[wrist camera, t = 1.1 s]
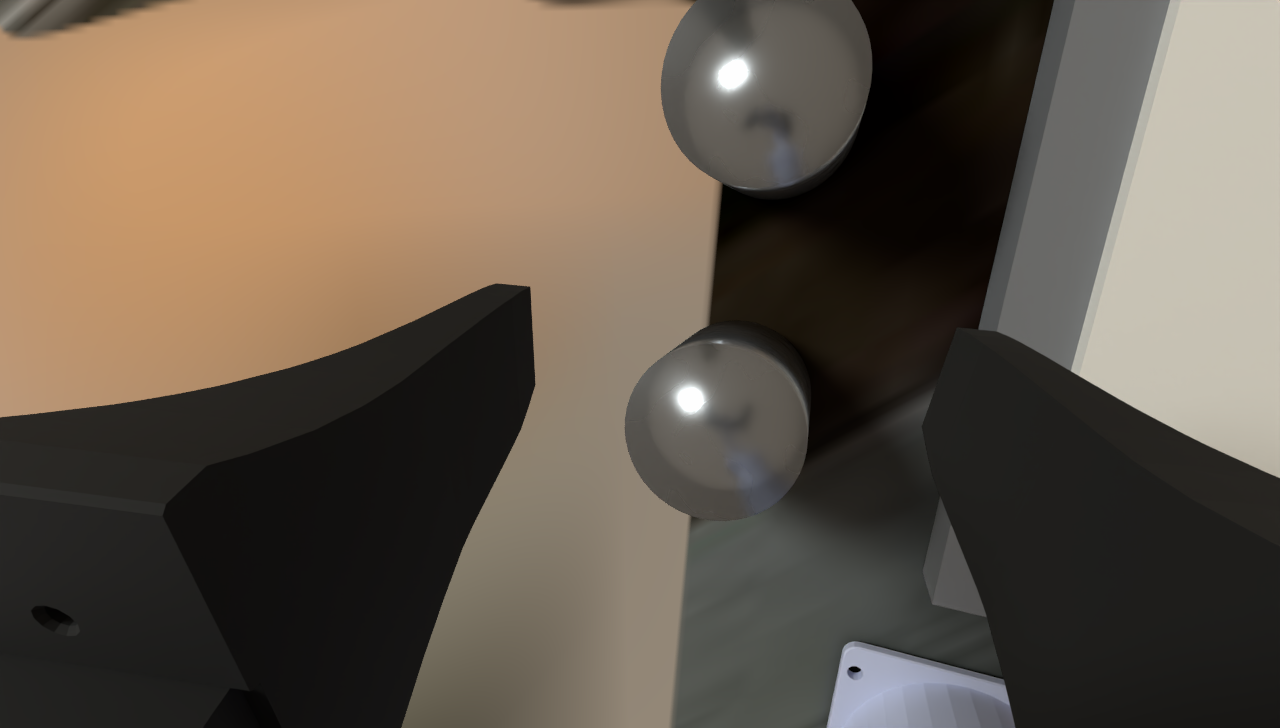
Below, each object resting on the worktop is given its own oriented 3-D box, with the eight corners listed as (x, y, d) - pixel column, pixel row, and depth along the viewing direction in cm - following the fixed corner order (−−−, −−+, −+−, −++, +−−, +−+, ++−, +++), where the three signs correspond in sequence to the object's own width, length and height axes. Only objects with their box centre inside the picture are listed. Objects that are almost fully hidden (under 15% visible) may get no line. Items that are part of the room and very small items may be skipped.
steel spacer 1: (845, 207, 20) (850, 196, 15) (690, 192, 21) (650, 178, 16) (875, 34, 19) (891, -36, 14) (709, 29, 20) (673, -36, 15)
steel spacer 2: (798, 473, 22) (791, 539, 17) (659, 446, 23) (616, 499, 18) (822, 331, 21) (822, 360, 16) (675, 310, 22) (634, 330, 17)
